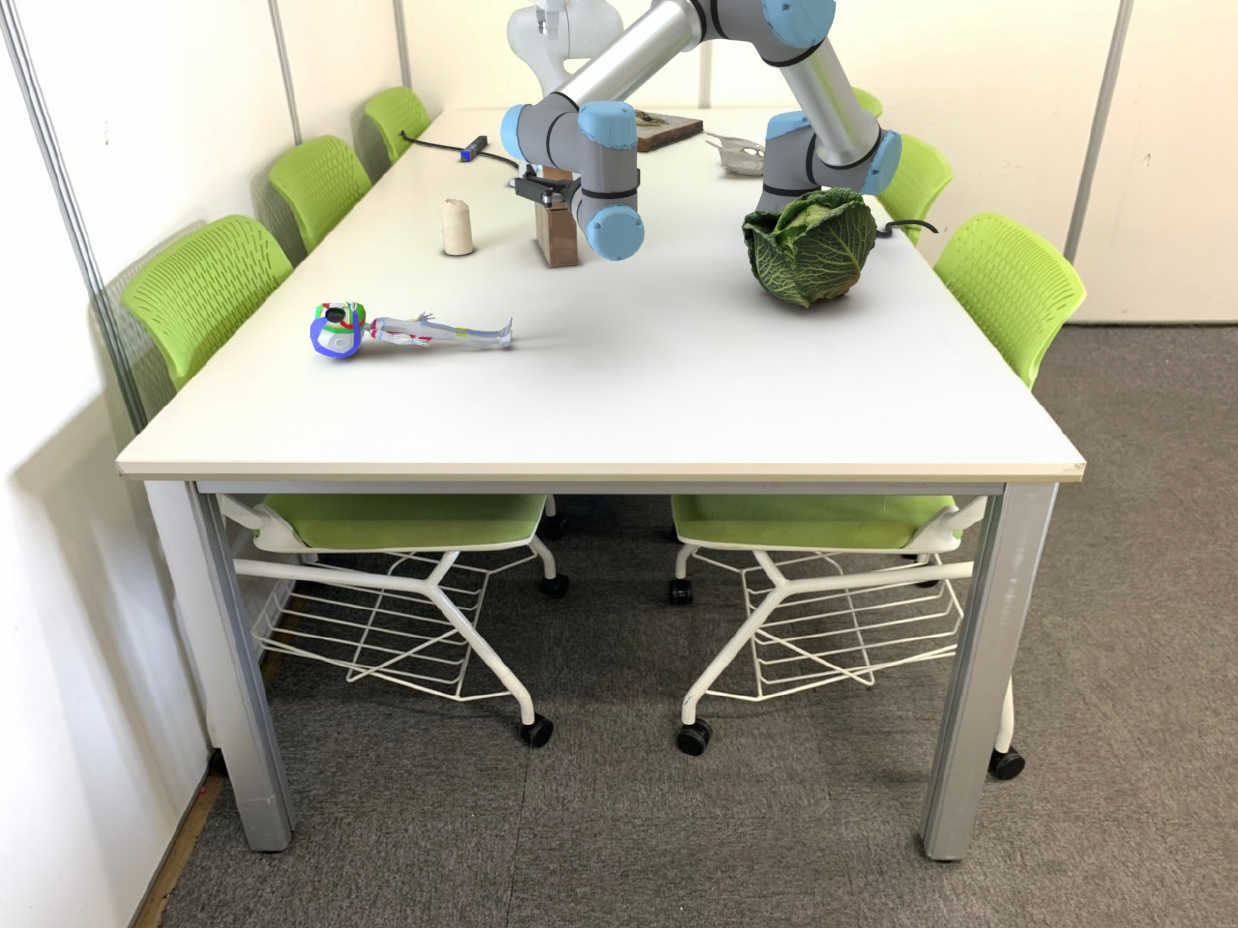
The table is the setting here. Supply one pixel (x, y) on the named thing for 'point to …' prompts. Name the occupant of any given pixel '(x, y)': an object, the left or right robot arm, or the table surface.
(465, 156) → the grey square bar
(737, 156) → the anatomical model
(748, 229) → the vegetable
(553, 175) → the lid
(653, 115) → the plaque
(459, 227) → the candle
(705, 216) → the table surface
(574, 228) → the chest
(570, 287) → the table surface
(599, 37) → the left robot arm
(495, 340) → the toy
